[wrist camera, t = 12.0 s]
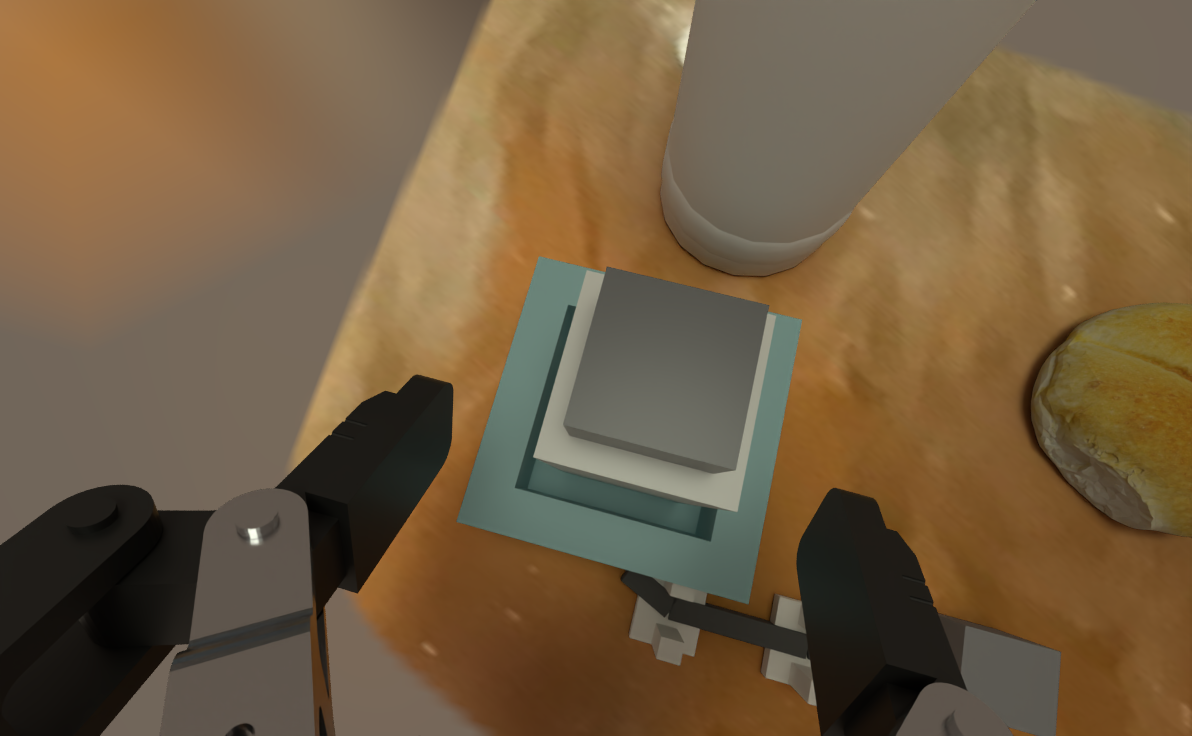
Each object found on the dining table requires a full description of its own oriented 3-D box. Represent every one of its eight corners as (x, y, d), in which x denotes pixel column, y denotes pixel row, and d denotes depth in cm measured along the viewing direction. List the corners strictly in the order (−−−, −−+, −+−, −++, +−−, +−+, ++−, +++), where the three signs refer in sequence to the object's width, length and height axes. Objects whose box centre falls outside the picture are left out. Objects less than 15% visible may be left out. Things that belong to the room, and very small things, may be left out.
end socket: (767, 349, 22) (802, 319, 18) (720, 582, 20) (748, 604, 16) (550, 296, 23) (539, 256, 19) (483, 516, 21) (456, 521, 17)
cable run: (997, 629, 20) (1061, 652, 17) (988, 738, 19) (1052, 779, 16) (632, 528, 21) (636, 534, 18) (608, 627, 20) (609, 649, 17)
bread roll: (1286, 423, 22) (1438, 408, 18) (1141, 567, 20) (1269, 586, 16) (1123, 274, 23) (1229, 230, 19) (979, 400, 22) (1061, 381, 18)
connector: (704, 389, 21) (809, 282, 10) (679, 503, 20) (765, 516, 9) (594, 361, 21) (583, 229, 11) (564, 471, 20) (518, 450, 10)
